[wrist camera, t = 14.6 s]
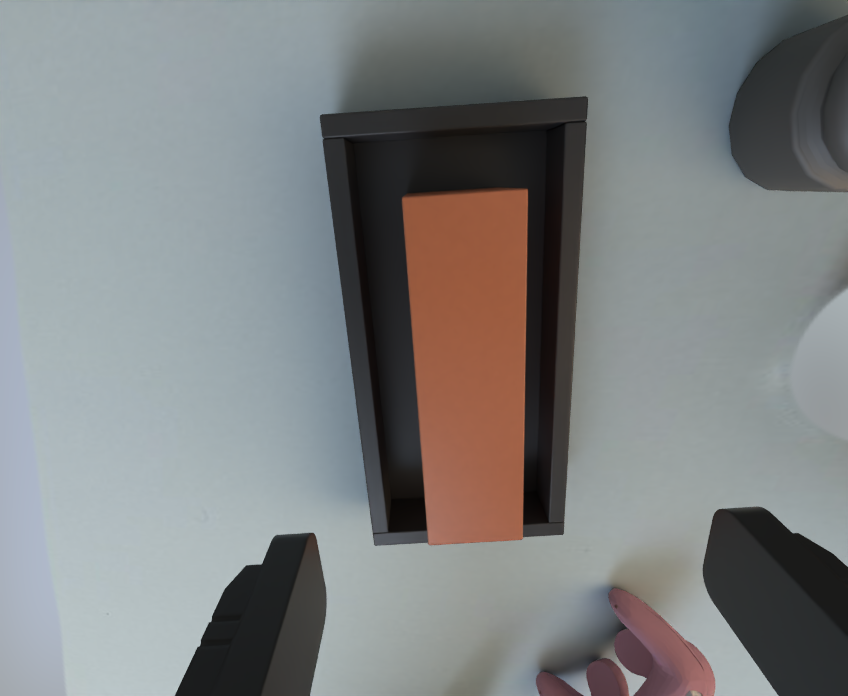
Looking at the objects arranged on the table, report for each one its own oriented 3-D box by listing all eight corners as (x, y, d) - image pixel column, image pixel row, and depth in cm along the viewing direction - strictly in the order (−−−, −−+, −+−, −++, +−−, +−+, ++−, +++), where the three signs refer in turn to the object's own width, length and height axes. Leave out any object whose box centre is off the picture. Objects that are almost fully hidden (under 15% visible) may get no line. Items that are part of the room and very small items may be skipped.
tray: (334, 125, 19) (318, 114, 16) (562, 109, 19) (589, 95, 16) (379, 504, 26) (374, 546, 23) (547, 495, 25) (563, 535, 23)
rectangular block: (406, 193, 19) (401, 196, 14) (499, 187, 19) (528, 188, 14) (426, 468, 24) (428, 545, 19) (500, 463, 24) (522, 540, 19)
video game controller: (565, 669, 33) (640, 789, 27) (524, 682, 30) (598, 817, 25) (648, 577, 30) (750, 691, 24) (610, 582, 27) (715, 711, 22)
